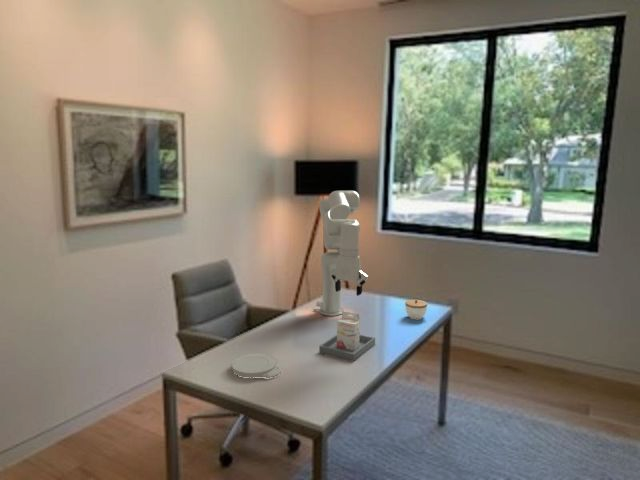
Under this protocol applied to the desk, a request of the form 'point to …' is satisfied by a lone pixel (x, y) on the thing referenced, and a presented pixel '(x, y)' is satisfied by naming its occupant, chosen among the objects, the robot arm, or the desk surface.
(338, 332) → the ink cartridge box
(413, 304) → the lidded jar
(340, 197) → the robot arm
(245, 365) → the lid
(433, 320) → the desk surface
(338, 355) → the tray
